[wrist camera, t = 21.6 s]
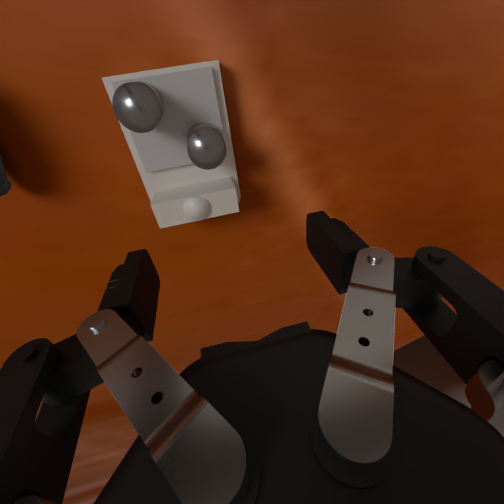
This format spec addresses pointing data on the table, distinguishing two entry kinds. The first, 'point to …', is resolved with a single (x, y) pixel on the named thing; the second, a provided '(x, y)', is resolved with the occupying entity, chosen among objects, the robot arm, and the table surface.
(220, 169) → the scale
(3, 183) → the stone
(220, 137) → the cylinder
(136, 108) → the grey glossy egg shape
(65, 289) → the table surface
